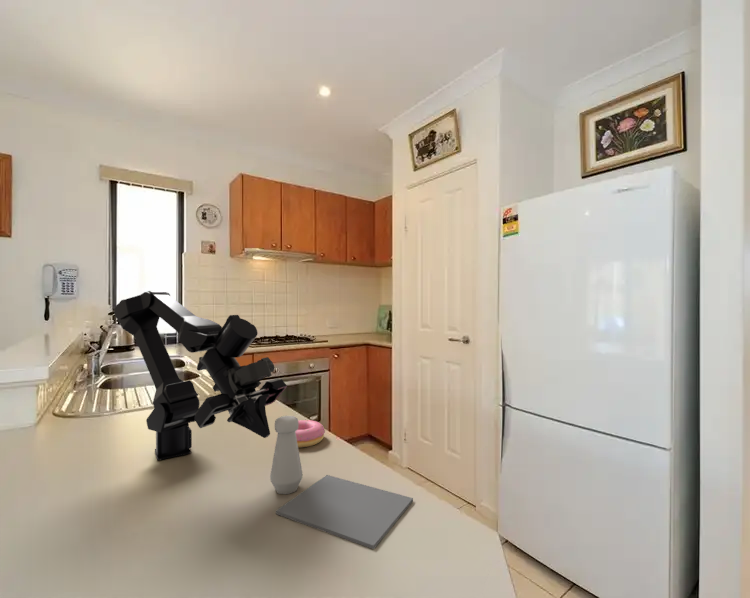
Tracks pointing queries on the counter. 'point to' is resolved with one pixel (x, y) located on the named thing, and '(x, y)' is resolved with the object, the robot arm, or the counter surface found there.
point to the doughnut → (309, 433)
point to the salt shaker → (286, 456)
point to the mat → (347, 510)
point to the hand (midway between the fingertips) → (267, 436)
